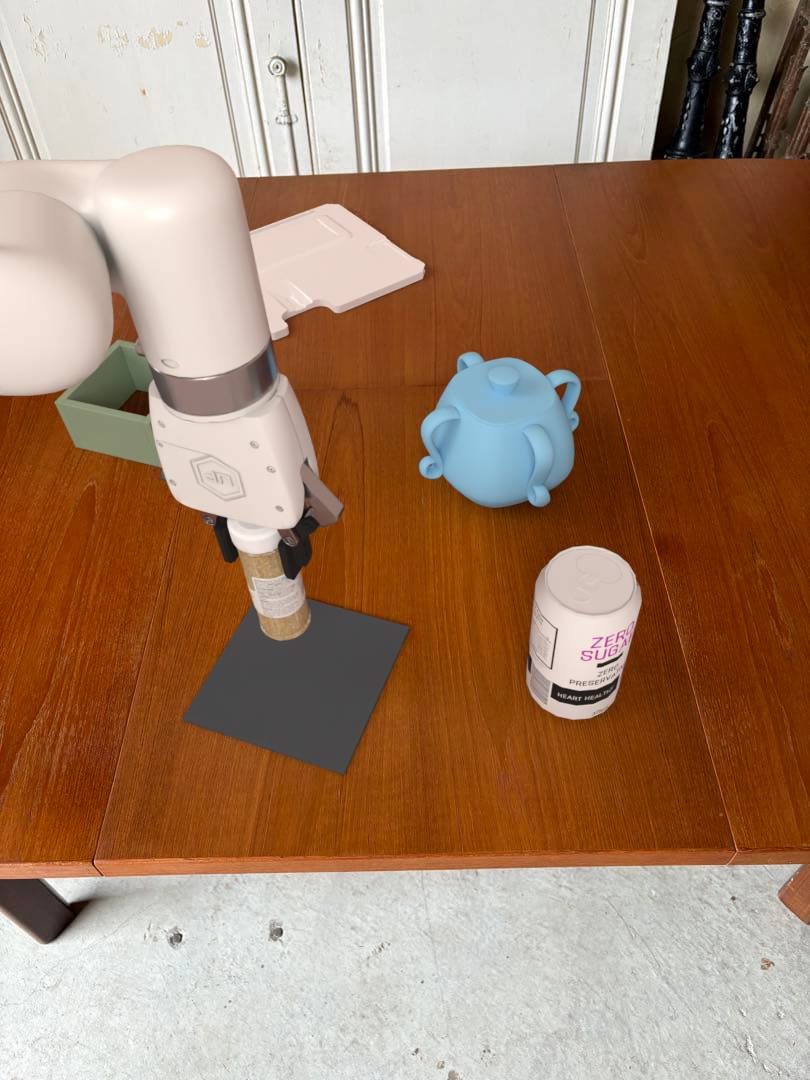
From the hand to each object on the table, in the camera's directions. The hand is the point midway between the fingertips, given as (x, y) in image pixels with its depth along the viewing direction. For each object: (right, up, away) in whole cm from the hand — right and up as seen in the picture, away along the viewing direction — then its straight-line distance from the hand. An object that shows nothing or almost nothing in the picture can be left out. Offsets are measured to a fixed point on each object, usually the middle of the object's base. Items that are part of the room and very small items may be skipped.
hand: (267, 556), depth 64 cm
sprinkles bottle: (+1, -6, +7) cm, 9 cm away
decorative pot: (+22, +9, +29) cm, 38 cm away
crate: (-21, +16, +38) cm, 47 cm away
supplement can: (+26, -12, +10) cm, 30 cm away
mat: (+1, -11, +13) cm, 17 cm away
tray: (-5, +43, +61) cm, 75 cm away
